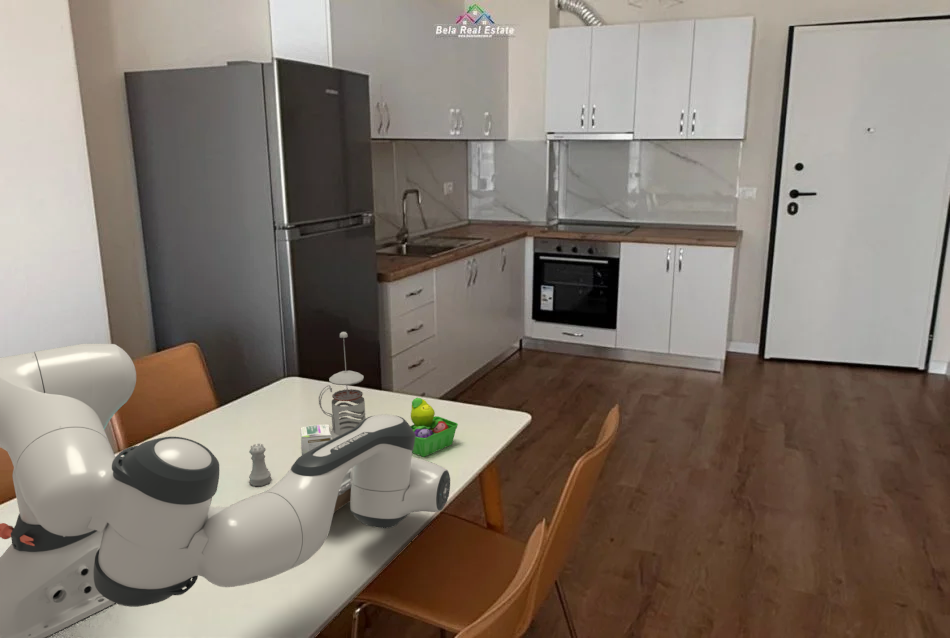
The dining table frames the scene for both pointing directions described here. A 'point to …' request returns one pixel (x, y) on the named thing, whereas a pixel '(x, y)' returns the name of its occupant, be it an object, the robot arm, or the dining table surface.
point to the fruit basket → (430, 429)
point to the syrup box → (314, 436)
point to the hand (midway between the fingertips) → (313, 457)
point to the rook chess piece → (259, 467)
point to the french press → (345, 395)
